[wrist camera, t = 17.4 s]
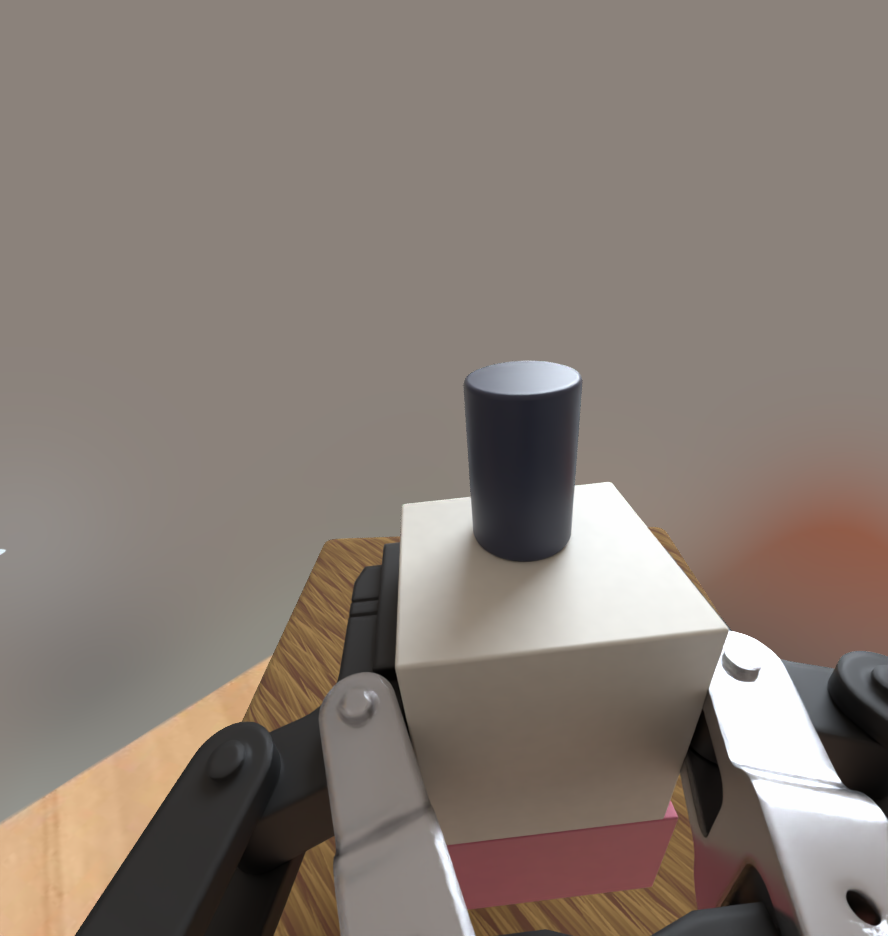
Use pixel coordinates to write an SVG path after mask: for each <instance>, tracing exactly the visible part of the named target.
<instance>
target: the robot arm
mask: <svg viewBox="0 0 888 936" xmlns="http://www.w3.org/2000/svg"><path fill="white" fill-rule="evenodd" d="M664 549H665V548H664ZM665 550H666V549H665ZM666 551H667V550H666ZM667 552H668V551H667ZM668 554H669V555H670V553H669V552H668ZM399 556H400V542H397V543H389V544H384V547H383V558H382V565H375V566H366V567H364V569H363V570H362V572H361V573H360V575H359V576H358V578H357V579H356V581H355V582H354V587H353V593H352V599H351V601H352V603H351V605H350V611H349V618H348V623H347V629H346V635H345V642H344V648H343V654H342V660H341V666H340V672H339V676H338V680H337V683H336V685H334V686H333V687H332V689H331V690H330V691H329V692H328V693H327V695H326V696H325V698H324V700H323V702H322V704H321V705H320V706H319V707H318V708H317V709H315V710H314V711H313V712H311V713H310V714H308V715H306V716H304V717H302V718H300V719H298V720H296V721H293V722H291V723H289V724H287V725H284V726H282V727H280V728H278V729H275V730H273V731H271V732H268V730H267V729H266V728H265V727H264V726H262V725H260V724H258V723H255V722H239V723H235V724H232V725H230V726H227V727H225V728H223V729H222V730H220V731H218V732H217V733H216V734H214V735H213V736H211V737H210V738H209V739H208V740H207V741H206V742H205V743H204V744H203V745H202V746H201V747H200V748H199V749H198V751H197V752H196V753H195V755H194V756H193V758H192V759H191V761H190V762H189V764H188V765H187V767H186V768H185V770H184V771H183V773H182V774H181V776H180V777H179V779H178V780H177V782H176V783H175V785H174V786H173V788H172V789H171V791H170V792H169V794H168V795H167V797H166V798H165V800H164V801H163V803H162V804H161V806H160V807H159V809H158V810H157V812H156V814H155V815H154V817H153V818H152V820H151V821H150V823H149V824H148V826H147V827H146V829H145V830H144V832H143V833H142V835H141V836H140V838H139V839H138V841H137V842H136V844H135V845H134V847H133V848H132V850H131V851H130V853H129V854H128V856H127V857H126V859H125V860H124V862H123V863H122V865H121V866H120V868H119V870H118V871H117V873H116V874H115V876H114V877H113V879H112V880H111V882H110V883H109V885H108V886H107V888H106V889H105V891H104V892H103V894H102V895H101V897H100V898H99V900H98V901H97V903H96V904H95V906H94V907H93V909H92V910H91V912H90V913H89V915H88V916H87V918H86V919H85V921H84V922H83V924H82V926H81V927H80V929H79V930H78V932H77V933H76V935H75V936H274V933H275V931H276V928H277V926H278V923H279V920H280V918H281V915H282V913H283V910H284V907H285V905H286V902H287V899H288V897H289V894H290V892H291V889H292V886H293V884H294V881H295V879H296V876H297V873H298V871H299V868H300V865H301V863H302V860H303V858H304V855H305V852H306V851H308V850H309V849H311V848H313V847H315V846H317V845H319V844H320V843H322V842H324V841H326V840H328V839H330V838H331V837H333V836H335V845H336V853H335V856H334V859H333V875H334V886H335V895H336V903H337V910H338V918H339V926H340V934H341V936H476V935H475V932H474V929H473V926H472V923H471V920H470V917H469V914H468V911H467V908H466V905H465V901H464V898H463V895H462V892H461V889H460V886H459V883H458V880H457V877H456V874H455V871H454V868H453V865H452V861H451V858H450V855H449V852H448V849H447V846H446V843H445V840H444V837H443V834H442V831H441V828H440V825H439V822H438V819H437V816H436V813H435V811H434V808H433V806H432V805H431V803H430V800H429V797H428V794H427V791H426V788H425V785H424V782H423V779H422V776H421V773H420V769H419V766H418V763H417V760H416V757H415V754H414V751H413V747H412V742H411V738H410V733H409V729H408V724H407V720H406V715H405V710H404V706H403V701H402V697H401V692H400V688H399V683H398V679H397V674H396V670H395V655H396V630H397V605H398V580H399ZM670 556H671V555H670ZM671 557H672V556H671ZM672 559H673V560H674V558H673V557H672ZM674 561H675V560H674ZM675 562H676V561H675ZM676 564H677V562H676ZM679 567H680V566H679ZM680 569H681V570H682V568H681V567H680ZM682 571H683V570H682ZM683 572H684V571H683ZM684 573H685V572H684ZM685 575H686V573H685ZM686 576H687V575H686ZM687 577H688V576H687ZM690 581H691V579H690ZM691 582H692V581H691ZM692 583H693V582H692ZM693 585H694V586H695V584H694V583H693ZM695 587H696V586H695ZM696 588H697V587H696ZM697 590H698V591H699V589H698V588H697ZM699 592H700V591H699ZM700 593H701V592H700ZM701 595H702V596H703V594H702V593H701ZM703 597H704V596H703ZM704 598H705V597H704ZM705 600H706V601H707V599H706V598H705ZM707 602H708V601H707ZM708 603H709V602H708ZM709 605H710V606H711V604H710V603H709ZM711 607H712V606H711ZM712 608H713V607H712ZM713 610H714V611H715V612H716V610H715V609H714V608H713ZM716 613H717V612H716ZM717 615H718V616H719V617H720V615H719V614H718V613H717ZM720 618H721V617H720ZM721 620H722V621H723V622H724V620H723V619H722V618H721ZM724 623H725V622H724ZM725 625H726V626H727V627H728V625H727V624H726V623H725ZM728 630H729V634H728V637H727V639H726V642H725V645H724V648H723V651H722V654H721V657H720V659H719V662H718V665H717V668H716V671H715V674H714V677H713V679H712V682H711V685H710V688H709V689H708V692H707V695H706V698H705V701H704V704H703V706H702V707H703V708H702V711H701V714H700V717H699V719H698V722H697V725H696V728H695V731H694V734H693V737H692V739H691V742H690V745H689V748H688V751H687V754H686V756H685V758H684V761H683V764H682V767H681V770H680V776H681V781H682V786H683V791H684V796H685V801H686V806H687V811H688V816H689V821H690V826H691V831H692V836H693V843H694V885H695V895H696V902H697V908H698V910H693V911H691V912H689V913H687V914H686V915H684V916H682V917H681V918H679V919H677V920H676V921H674V922H672V923H671V924H669V925H667V926H666V927H664V928H662V929H661V930H659V931H657V932H656V933H654V934H652V935H651V936H888V657H887V656H885V655H881V654H877V653H873V652H866V651H855V652H850V653H847V654H845V655H843V656H842V657H841V658H840V660H839V661H838V664H837V665H836V667H835V669H834V668H828V667H822V666H816V665H810V664H804V663H797V662H791V661H786V660H781V659H779V658H778V656H777V655H776V654H775V653H774V652H772V651H771V650H770V649H769V648H768V647H766V646H765V645H764V644H762V643H760V642H759V641H757V640H755V639H753V638H751V637H749V636H746V635H744V634H740V633H737V632H732V630H731V629H730V628H729V627H728ZM496 936H572V935H568V934H564V933H560V932H556V931H552V930H547V929H543V930H536V931H528V932H520V933H512V934H504V935H496Z"/></svg>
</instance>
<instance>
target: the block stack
mask: <svg viewBox="0 0 888 936" xmlns="http://www.w3.org/2000/svg"><path fill="white" fill-rule="evenodd" d="M581 394H582V378H581V375H580V373H579V372H578V371H576V370H575V369H573V368H571V367H567V366H564V365H561V364H557V363H552V362H544V361H514V362H505V363H499V364H494V365H490V366H486V367H483V368H481V369H478V370H476V371H474V372H472V373H470V374H469V375H468V376H467V377H466V378H465V381H464V400H465V416H466V431H467V445H468V461H469V476H470V492H471V497H466V498H456V499H448V500H439V501H430V502H420V503H411V504H403V505H402V507H401V531H400V533H401V534H400V556H399V580H398V605H397V630H396V655H395V670H396V674H397V679H398V683H399V688H400V692H401V697H402V701H403V706H404V710H405V715H406V720H407V724H408V729H409V733H410V738H411V742H412V747H413V751H414V754H415V757H416V760H417V763H418V766H419V769H420V773H421V776H422V779H423V782H424V785H425V788H426V791H427V794H428V797H429V800H430V803H431V805H432V806H433V808H434V811H435V813H436V816H437V819H438V822H439V825H440V828H441V831H442V834H443V837H444V840H445V843H446V846H447V849H448V852H449V855H450V858H451V861H452V865H453V868H454V871H455V874H456V877H457V880H458V883H459V886H460V889H461V892H462V895H463V898H464V901H465V905H466V908H467V910H469V909H477V908H486V907H494V906H502V905H510V904H518V903H526V902H534V901H542V900H550V899H558V898H566V897H575V896H583V895H591V894H599V893H607V892H615V891H623V890H631V889H639V888H647V887H652V886H653V883H654V880H655V878H656V875H657V873H658V870H659V867H660V865H661V862H662V860H663V857H664V854H665V852H666V849H667V847H668V844H669V842H670V839H671V836H672V834H673V831H674V829H675V826H676V823H677V821H678V816H677V813H676V811H675V809H674V807H673V805H672V802H671V800H670V799H671V796H672V794H673V791H674V788H675V785H676V782H677V779H678V776H679V774H680V770H681V767H682V764H683V761H684V758H685V756H686V754H687V751H688V748H689V745H690V742H691V739H692V737H693V734H694V731H695V728H696V725H697V722H698V719H699V717H700V714H701V711H702V708H703V707H702V706H703V704H704V701H705V698H706V695H707V692H708V689H709V688H710V685H711V682H712V679H713V677H714V674H715V671H716V668H717V665H718V662H719V659H720V657H721V654H722V651H723V648H724V645H725V642H726V639H727V637H728V634H729V630H728V627H727V626H726V625H725V623H724V622H723V621H722V620H721V618H720V617H719V616H718V615H717V613H716V612H715V611H714V610H713V608H712V607H711V606H710V605H709V603H708V602H707V601H706V600H705V598H704V597H703V596H702V595H701V593H700V592H699V591H698V590H697V588H696V587H695V586H694V585H693V583H692V582H691V581H690V580H689V578H688V577H687V576H686V575H685V573H684V572H683V571H682V570H681V569H680V567H679V566H678V565H677V564H676V562H675V561H674V560H673V559H672V557H671V556H670V555H669V554H668V552H667V551H666V550H665V549H664V547H663V546H662V545H661V544H660V542H659V541H658V540H657V539H656V537H655V536H654V535H653V534H652V532H651V531H650V530H649V529H648V527H647V526H646V525H645V524H644V523H643V521H642V520H641V519H640V517H639V516H638V515H637V514H636V513H635V511H634V510H633V509H632V508H631V506H630V505H629V504H628V503H627V502H626V500H625V499H624V498H623V496H622V495H621V494H620V493H619V491H618V490H617V489H616V488H615V486H614V485H613V484H612V483H611V482H605V483H595V484H585V485H576V486H575V474H576V459H577V447H578V433H579V420H580V407H581Z"/></svg>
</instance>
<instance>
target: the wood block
mask: <svg viewBox="0 0 888 936" xmlns="http://www.w3.org/2000/svg"><path fill="white" fill-rule="evenodd" d="M648 529H649V530H650V531H651V532H652V534H653V535H654V536H655V537H656V539H657V540H658V541H659V542H660V544H661V545H662V546H663V547H664V548H665V549H666V550H667V551H668V552H669V553H670V555H671V556H672V557H673V558H674V560H675V561H676V562H677V565H678V566H680V567H681V568H682V570H683V571H684V572H685V573H686V575H687V576H688V578H689V580H690V579H691V581H692V582H693V583H694V584H695V586H696V587H697V588H698V589H699V591H700V592H701V593H702V594H703V596H704V597H705V598H706V599H707V601H708V602H709V603H710V604H711V606H712V607H713V608H714V609H715V610H716V608H715V607H714V605H713V604H712V602H711V601H710V599H709V598H708V596H707V594H706V593H705V592H704V590H703V588H702V587H701V585H700V583H699V582H698V581H697V579H696V577H695V576H694V574H693V573H692V571H691V570H690V568H689V566H688V565H687V563H686V562H685V560H684V559H683V557H682V556H681V554H680V552H679V551H678V549H677V548H676V546H675V545H674V543H673V542H672V540H671V539H670V537H669V535H668V534H667V533H666V531H665V530H663V529H661V528H657V527H648ZM397 542H400V537H374V538H348V539H332V540H329V541H327V542H326V543H325V544H324V546H323V548H322V550H321V552H320V554H319V556H318V559H317V561H316V563H315V565H314V567H313V569H312V572H311V574H310V576H309V578H308V580H307V582H306V584H305V587H304V589H303V591H302V593H301V595H300V597H299V600H298V602H297V604H296V606H295V608H294V610H293V612H292V615H291V617H290V619H289V621H288V623H287V625H286V628H285V630H284V632H283V634H282V636H281V639H280V641H279V643H278V645H277V647H276V649H275V651H274V653H273V656H272V658H271V660H270V662H269V664H268V666H267V669H266V671H265V673H264V675H263V677H262V679H261V682H260V684H259V686H258V688H257V690H256V692H255V694H254V697H253V699H252V701H251V703H250V705H249V707H248V710H247V712H246V714H245V716H244V718H243V720H242V722H255V723H258V724H260V725H262V726H264V727H265V728H266V729H267V730H268V732H271V731H273V730H275V729H278V728H280V727H282V726H284V725H287V724H289V723H291V722H293V721H296V720H298V719H300V718H302V717H304V716H306V715H308V714H310V713H311V712H313V711H314V710H315V709H317V708H318V707H319V706H320V705H321V704H322V702H323V700H324V698H325V696H326V695H327V693H328V692H329V691H330V690H331V689H332V687H333V686H334V685H336V683H337V680H338V676H339V672H340V666H341V660H342V654H343V648H344V642H345V635H346V629H347V623H348V618H349V611H350V605H351V603H352V601H351V599H352V593H353V587H354V582H355V581H356V579H357V578H358V576H359V575H360V573H361V572H362V570H363V569H364V567H366V566H375V565H382V558H383V547H384V544H389V543H397ZM716 612H717V610H716ZM717 613H718V612H717ZM718 614H719V613H718ZM719 615H720V614H719ZM720 617H721V616H720ZM670 800H671V802H672V805H673V807H674V809H675V811H676V813H677V816H678V821H677V823H676V826H675V829H674V831H673V834H672V836H671V839H670V842H669V844H668V847H667V849H666V852H665V854H664V857H663V860H662V862H661V865H660V867H659V870H658V873H657V875H656V878H655V880H654V883H653V886H652V887H647V888H639V889H631V890H623V891H615V892H607V893H599V894H591V895H583V896H575V897H566V898H558V899H550V900H542V901H534V902H526V903H518V904H510V905H502V906H494V907H486V908H477V909H469V910H467V911H468V914H469V917H470V920H471V923H472V926H473V929H474V932H475V935H476V936H496V935H504V934H512V933H520V932H528V931H536V930H543V929H547V930H552V931H556V932H560V933H564V934H568V935H572V936H651V935H652V934H654V933H656V932H657V931H659V930H661V929H662V928H664V927H666V926H667V925H669V924H671V923H672V922H674V921H676V920H677V919H679V918H681V917H682V916H684V915H686V914H687V913H689V912H691V911H693V910H698V908H697V902H696V895H695V885H694V843H693V836H692V831H691V826H690V821H689V816H688V811H687V806H686V801H685V796H684V791H683V786H682V781H681V776H680V774H679V776H678V779H677V782H676V785H675V788H674V791H673V794H672V796H671V799H670ZM335 853H336V845H335V836H333V837H331V838H330V839H328V840H326V841H324V842H322V843H320V844H319V845H317V846H315V847H313V848H311V849H309V850H308V851H306V852H305V855H304V858H303V860H302V863H301V865H300V868H299V871H298V873H297V876H296V879H295V881H294V884H293V886H292V889H291V892H290V894H289V897H288V899H287V902H286V905H285V907H284V910H283V913H282V915H281V918H280V920H279V923H278V926H277V928H276V931H275V933H274V936H341V934H340V926H339V918H338V910H337V903H336V895H335V886H334V875H333V859H334V856H335Z"/></svg>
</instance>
